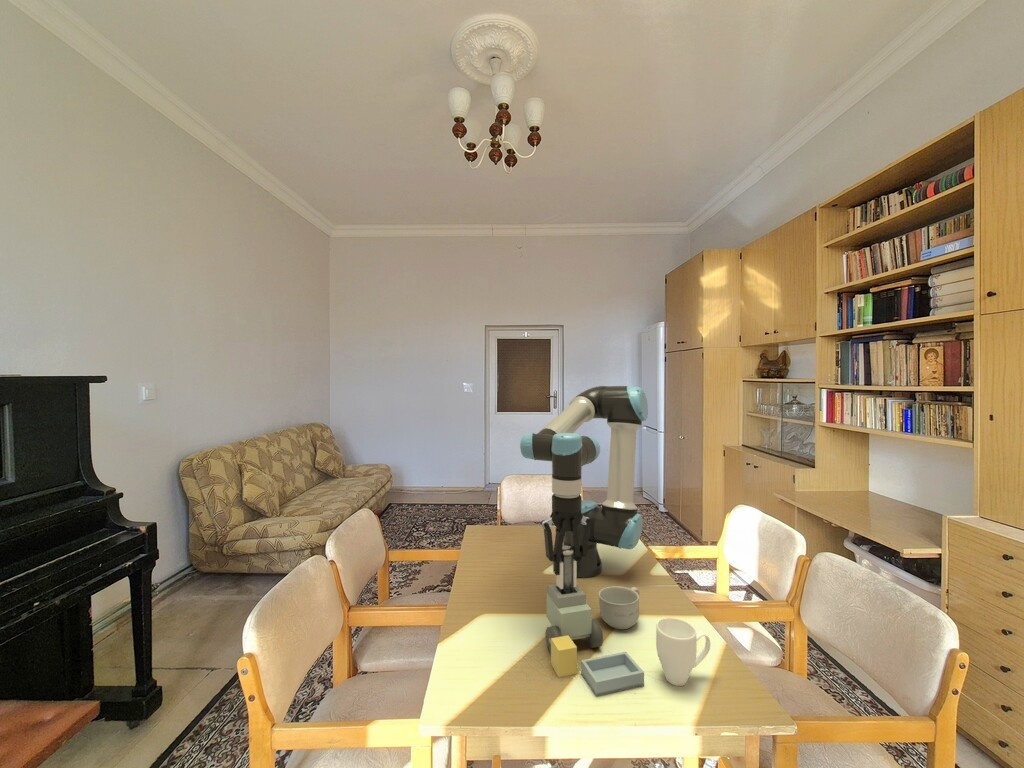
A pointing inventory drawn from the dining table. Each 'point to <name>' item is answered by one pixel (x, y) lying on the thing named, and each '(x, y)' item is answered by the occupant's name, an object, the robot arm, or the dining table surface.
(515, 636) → the dining table surface
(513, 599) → the dining table surface
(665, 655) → the mug
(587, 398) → the robot arm
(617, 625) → the teacup
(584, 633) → the trolley
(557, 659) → the block
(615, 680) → the tray
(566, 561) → the flashlight
